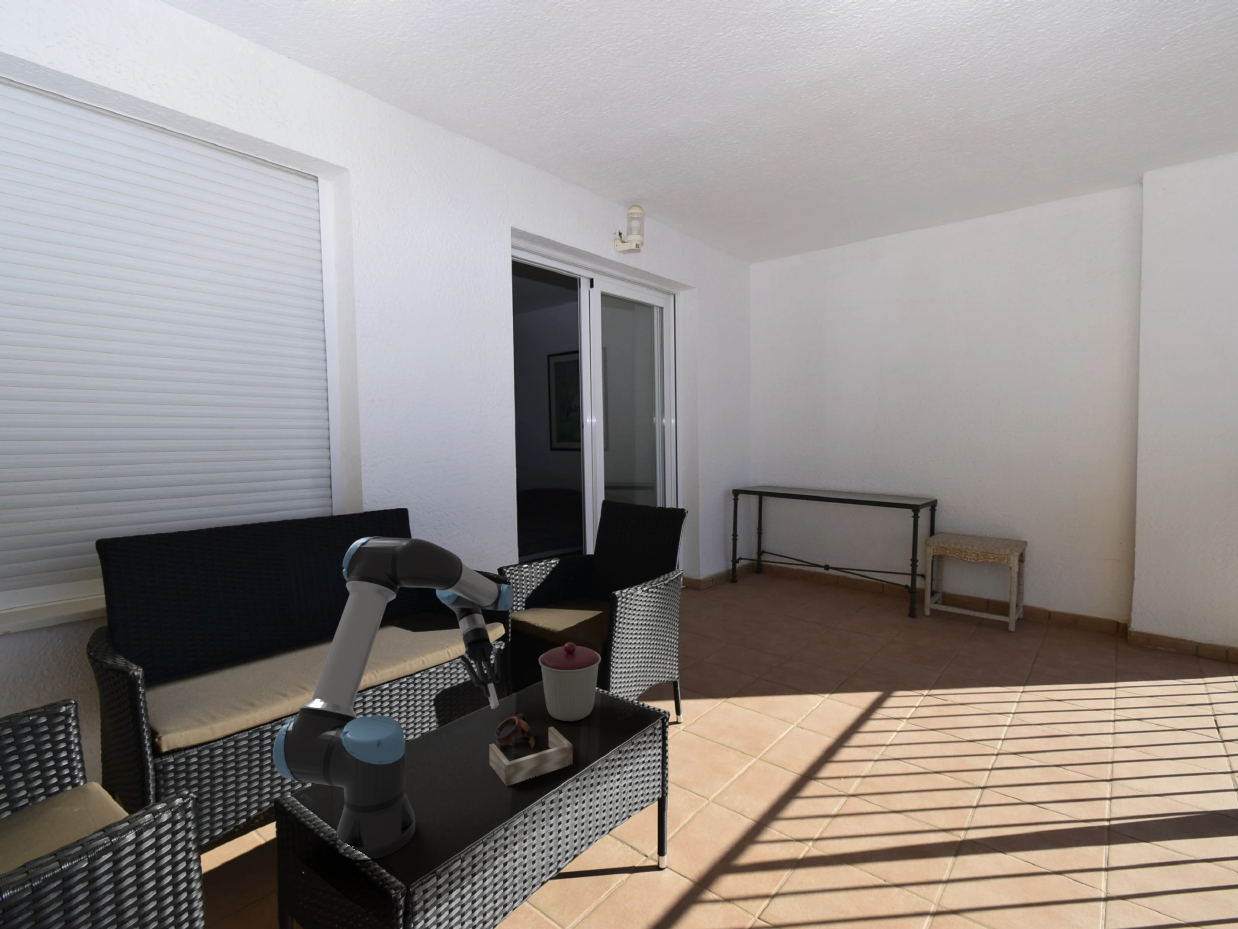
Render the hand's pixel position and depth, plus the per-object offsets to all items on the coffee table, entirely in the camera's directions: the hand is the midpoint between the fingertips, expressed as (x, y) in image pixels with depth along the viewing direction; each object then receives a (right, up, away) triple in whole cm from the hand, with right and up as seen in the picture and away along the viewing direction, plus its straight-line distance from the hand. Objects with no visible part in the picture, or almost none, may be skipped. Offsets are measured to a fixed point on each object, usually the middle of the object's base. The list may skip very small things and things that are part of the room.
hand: (495, 706), depth 176 cm
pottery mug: (+8, -5, -12) cm, 15 cm away
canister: (+21, -4, +5) cm, 22 cm away
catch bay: (+13, -6, -22) cm, 26 cm away
